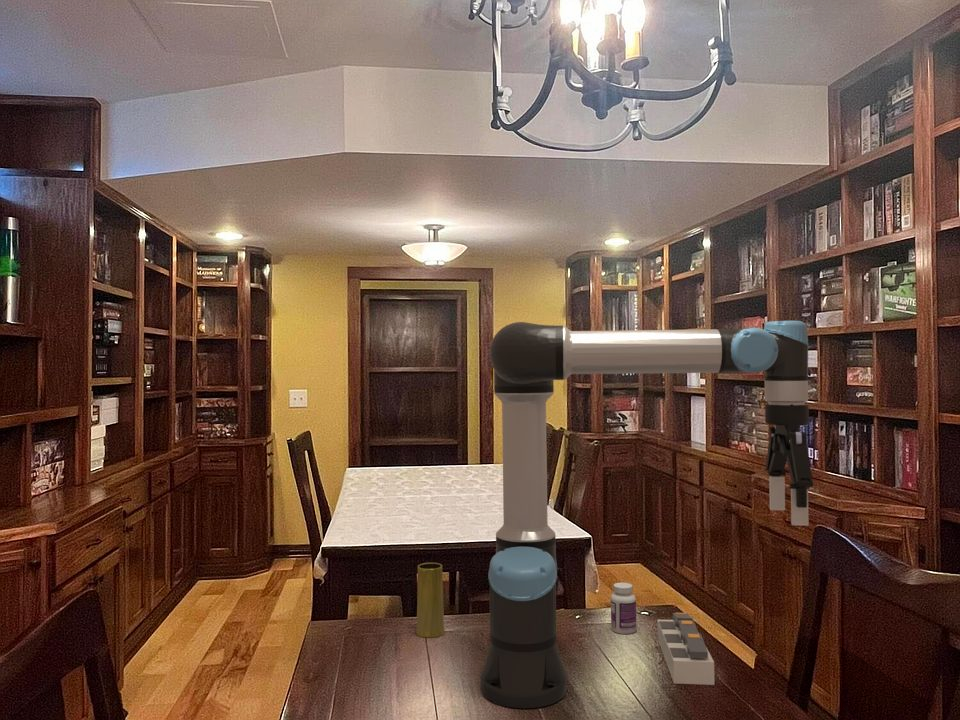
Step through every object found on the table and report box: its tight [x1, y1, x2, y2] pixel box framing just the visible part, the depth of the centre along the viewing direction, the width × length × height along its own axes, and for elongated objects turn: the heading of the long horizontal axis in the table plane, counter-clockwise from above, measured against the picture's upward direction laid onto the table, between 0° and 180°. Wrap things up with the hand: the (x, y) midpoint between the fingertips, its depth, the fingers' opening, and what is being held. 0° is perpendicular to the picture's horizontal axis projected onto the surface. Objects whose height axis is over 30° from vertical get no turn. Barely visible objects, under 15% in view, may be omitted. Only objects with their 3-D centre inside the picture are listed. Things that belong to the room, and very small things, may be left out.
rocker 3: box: [684, 633, 709, 658], centre depth 131 cm, size 3×6×1 cm, turn 174°
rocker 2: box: [678, 620, 700, 643], centre depth 138 cm, size 3×6×1 cm, turn 174°
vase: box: [415, 562, 446, 639], centre depth 153 cm, size 6×6×14 cm
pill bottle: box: [610, 582, 637, 635], centre depth 154 cm, size 5×5×10 cm
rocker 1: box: [672, 612, 694, 624], centre depth 145 cm, size 3×6×1 cm, turn 174°
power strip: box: [656, 619, 715, 686], centre depth 138 cm, size 7×21×5 cm, turn 174°
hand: (788, 517), depth 134 cm, fingers open, 13 cm apart
